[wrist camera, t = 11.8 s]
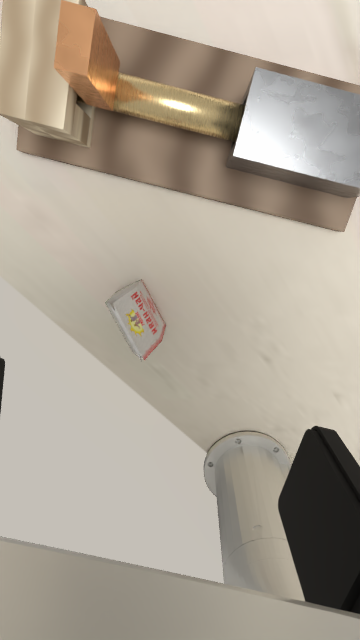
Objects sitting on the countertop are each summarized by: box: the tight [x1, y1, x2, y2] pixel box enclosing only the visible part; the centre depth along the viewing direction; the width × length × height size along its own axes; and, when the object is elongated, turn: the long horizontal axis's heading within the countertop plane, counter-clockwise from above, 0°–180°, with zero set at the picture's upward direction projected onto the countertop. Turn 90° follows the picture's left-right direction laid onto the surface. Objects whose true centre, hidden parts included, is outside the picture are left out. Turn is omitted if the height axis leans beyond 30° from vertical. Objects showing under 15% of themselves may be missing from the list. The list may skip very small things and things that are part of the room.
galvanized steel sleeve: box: [226, 67, 360, 198], centre depth 33 cm, size 14×7×7 cm, turn 77°
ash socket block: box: [0, 0, 96, 148], centre depth 32 cm, size 6×10×8 cm, turn 167°
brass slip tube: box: [54, 0, 245, 142], centre depth 29 cm, size 22×4×11 cm, turn 77°
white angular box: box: [105, 280, 166, 362], centre depth 39 cm, size 4×7×10 cm, turn 26°
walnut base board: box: [17, 17, 360, 232], centre depth 37 cm, size 38×14×2 cm, turn 77°
